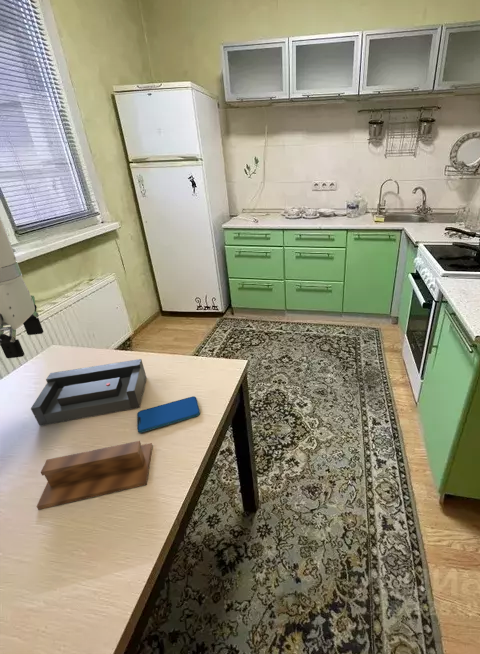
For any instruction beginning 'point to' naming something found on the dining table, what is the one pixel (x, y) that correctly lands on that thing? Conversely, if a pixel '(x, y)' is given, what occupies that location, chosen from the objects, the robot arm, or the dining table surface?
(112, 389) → the remote
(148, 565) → the dining table surface
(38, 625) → the dining table surface
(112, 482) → the stepped wooden stand
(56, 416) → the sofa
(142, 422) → the smartphone
